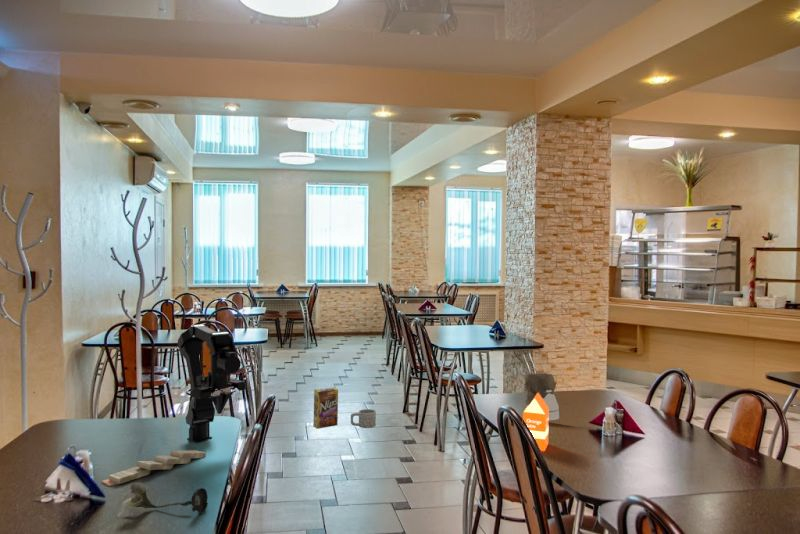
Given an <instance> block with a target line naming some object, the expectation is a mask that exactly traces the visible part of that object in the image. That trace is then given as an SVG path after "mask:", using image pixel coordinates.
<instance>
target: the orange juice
mask: <svg viewBox="0 0 800 534" xmlns="http://www.w3.org/2000/svg"><path fill="white" fill-rule="evenodd" d="M523 420H524V422H525V423H526V425H527V427H528V428H529V430H530V432H531V433H532V435H533V437H534V439H535V440H536V442H537V444H538V446H539V448H540V450H541V451H540V452H545V451H546V449H547V447H548V446H549V428H550V427H549V423H550V420H549V408H548V407H547V405H546V403H545V402H544V400H543V399H542V397H541V396H540V394H539V393H537V394H536V396H535V397H534V400H533V401H532V402H531V403H530V405H528V406H527V405H526V407H525V409H524V410H523V412H522V421H523Z"/></svg>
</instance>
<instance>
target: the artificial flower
mask: <svg viewBox="0 0 800 534" xmlns="http://www.w3.org/2000/svg"><path fill="white" fill-rule="evenodd" d="M208 498H209V497H208V492H207V490H206V489H205V488H204V487H200V488H196V490H195V491H194V492H193V493H192V495H191V500H188V501H185V502H176V503H175V502H174V503H169V504H164V505H158V506H157V505H154V504H153V503H152V502H151V501H150V500H149V498H148V495H147V490H146V486H145V485H144V484H143V483H133V484H130V486H129V488H128V492H126V493H125V494H124V496H123V498H122V500H121V504H122V506H120V509H119V510H118V512H117V514H116V515H117V516H118V517H117V518H131V517H133V514H134V513H135V511H136V508H143V509H159V508H166V507H170V506H178V505H180V506H182V507H186V506H189V505H191V510H192V513H194V512H195V511H197V513H198V515H201V514H202V513H205V512H206V510H207V507H208V505H209V503H208Z"/></svg>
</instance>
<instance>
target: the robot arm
mask: <svg viewBox="0 0 800 534" xmlns="http://www.w3.org/2000/svg"><path fill="white" fill-rule="evenodd" d="M204 343H206V346H207V348H208V349H209V352H208V354H209V356H210V371H208V372H207V375H206V376H204V374H203V370H202V364H201V363H202V362H201V357H200V355H201V354H202V351H203V348H204V347H203V344H204ZM177 348H178V349H179V352H180V355H182V357H184V359H185V361H186V367H187V372H188V378H189V384H190V389H191V391H190V392H191V393H190V397H192V399H191V400H190V403H189V406H188V407H189V409H188V412H187V414H186V416H185V424H187V425H189V428H188V437H187V441H188V440H189V441H190V442H191V441H192V442H194V443H201V442H205V441H209V440H212V439H213V436H210V428H211V427H210V423H213V422H214V420H215V415H216V414H215V413H217V414H218V415H220V414H222V413H223V410H224V409H225V406H226V405H227V402H228V400H229V399H230V397H231V396H232V395H234V394H233V392H231V390H233V389H237V390H238V391H240V392H241V391H245V390H246V389H247V383H246V382H245V381H244V380H239V379H234V380H229V375H231V374H236V373H237V372H238V371H239V370H240V368H241V365H242V363H241V359H240V358H239V357H238V356H236V352H237V350H236V345H235V343H234V340H233V338H232V335H231V334H230V333H229V332H228V331H215V330H213V329H212V328H210V327H208V326H206V325H205V324H202V323H200V324H191V325H190V326H189V327H188V329H186V330H185V331H183V332H182V333H181V334H180V335H179V337H178V339H177ZM208 439H209V440H208Z"/></svg>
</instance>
